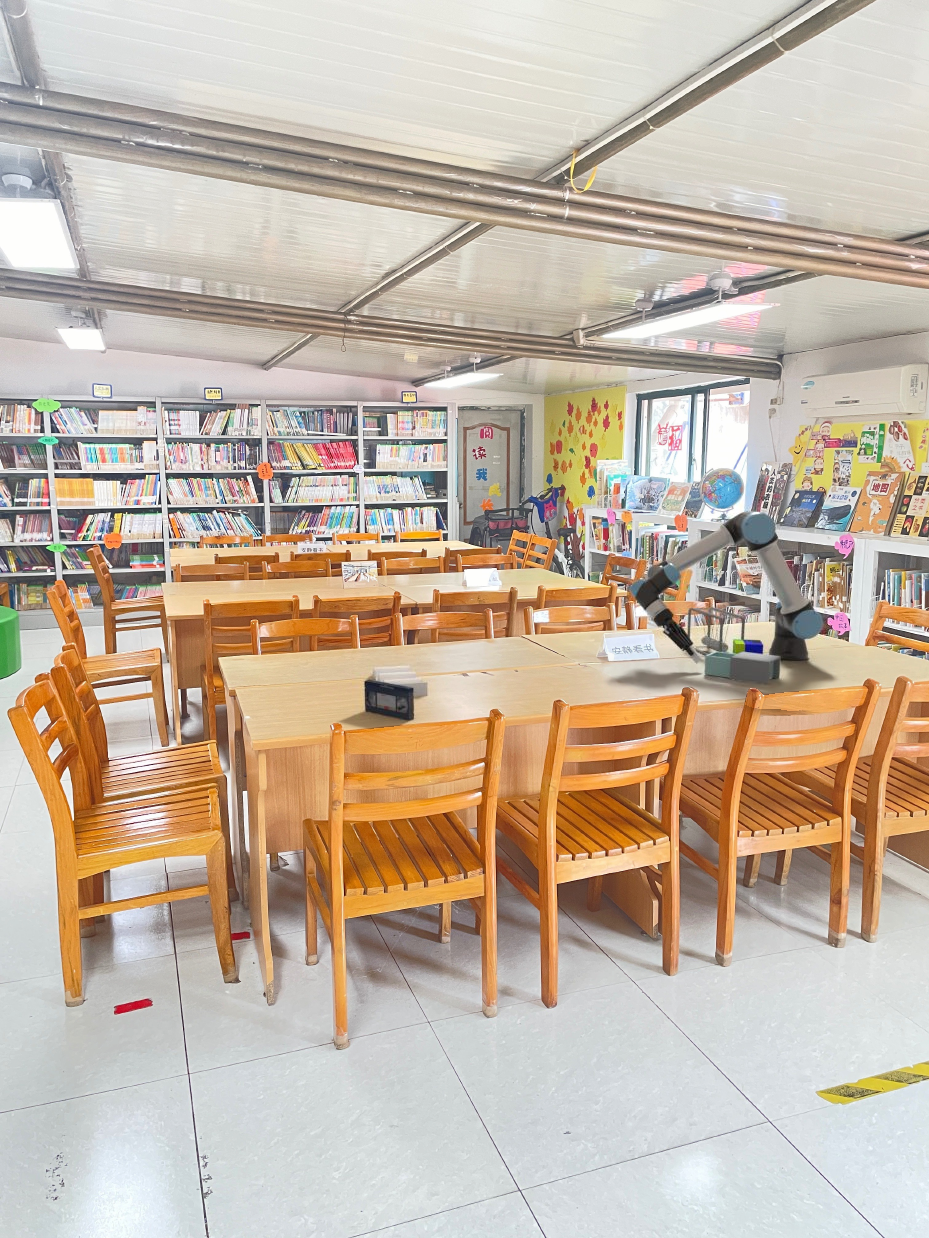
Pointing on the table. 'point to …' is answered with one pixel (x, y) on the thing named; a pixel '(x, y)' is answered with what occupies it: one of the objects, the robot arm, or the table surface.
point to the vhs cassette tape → (389, 699)
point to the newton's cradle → (707, 639)
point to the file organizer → (401, 678)
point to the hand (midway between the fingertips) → (699, 661)
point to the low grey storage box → (754, 667)
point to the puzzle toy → (747, 646)
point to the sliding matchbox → (723, 664)
